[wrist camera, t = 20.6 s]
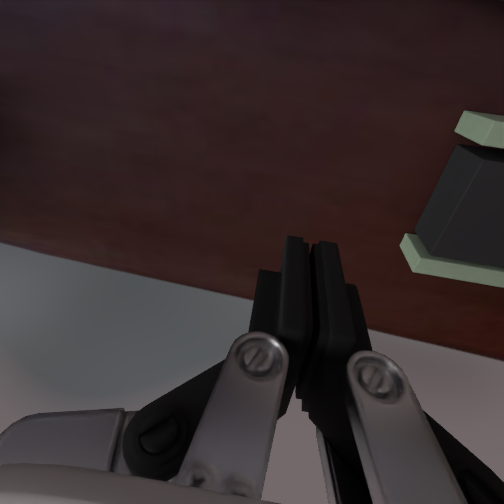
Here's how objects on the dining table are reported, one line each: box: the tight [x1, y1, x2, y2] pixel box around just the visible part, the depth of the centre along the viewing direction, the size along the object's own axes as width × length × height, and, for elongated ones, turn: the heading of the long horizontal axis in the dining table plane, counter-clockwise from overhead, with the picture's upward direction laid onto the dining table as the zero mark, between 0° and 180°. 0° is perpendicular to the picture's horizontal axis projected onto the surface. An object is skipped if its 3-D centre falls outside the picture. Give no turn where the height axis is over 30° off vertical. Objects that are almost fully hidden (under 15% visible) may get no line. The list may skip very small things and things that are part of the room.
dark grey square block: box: [415, 144, 504, 267], centre depth 19 cm, size 6×6×4 cm
